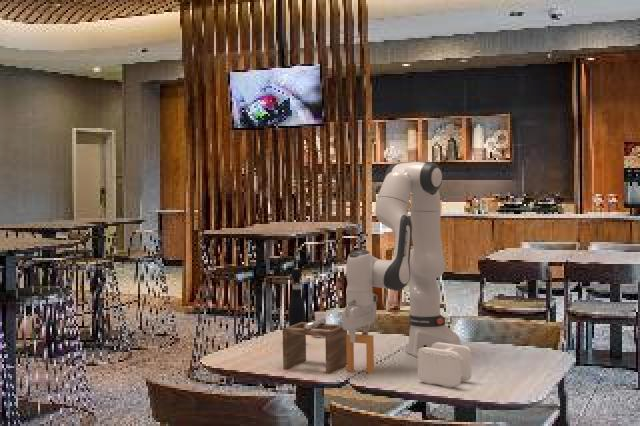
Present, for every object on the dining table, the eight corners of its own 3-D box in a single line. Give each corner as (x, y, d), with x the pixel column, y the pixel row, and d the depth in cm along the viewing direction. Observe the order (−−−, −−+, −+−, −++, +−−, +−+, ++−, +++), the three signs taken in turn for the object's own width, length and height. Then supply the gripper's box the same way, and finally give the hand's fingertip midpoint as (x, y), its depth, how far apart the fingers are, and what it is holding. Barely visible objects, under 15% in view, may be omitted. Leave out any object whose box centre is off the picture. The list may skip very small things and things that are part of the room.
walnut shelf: (347, 365, 289) (347, 325, 289) (329, 373, 277) (329, 332, 276) (302, 360, 298) (301, 321, 297) (283, 368, 285) (282, 328, 284)
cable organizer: (474, 383, 262) (474, 347, 261) (457, 390, 254) (456, 352, 253) (434, 376, 272) (433, 341, 271) (416, 382, 264) (415, 346, 263)
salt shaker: (309, 338, 338) (309, 313, 338) (314, 334, 346) (313, 310, 345) (327, 338, 337) (327, 314, 336) (331, 335, 344) (331, 311, 344)
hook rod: (326, 324, 292) (325, 318, 292) (308, 330, 280) (308, 324, 280) (321, 323, 293) (320, 318, 293) (303, 330, 281) (303, 324, 281)
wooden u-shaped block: (373, 372, 279) (373, 335, 278) (371, 373, 276) (370, 336, 276) (349, 369, 283) (349, 333, 282) (346, 371, 280) (346, 334, 280)
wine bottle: (303, 347, 320) (302, 270, 318) (287, 347, 321) (286, 270, 320) (307, 344, 326) (306, 268, 325) (291, 343, 327) (290, 268, 326)
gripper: (355, 303, 268) (355, 346, 268) (379, 295, 286) (379, 335, 286) (337, 302, 270) (337, 344, 271) (362, 294, 289) (362, 333, 289)
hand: (359, 339), depth 279 cm, fingers open, 8 cm apart
